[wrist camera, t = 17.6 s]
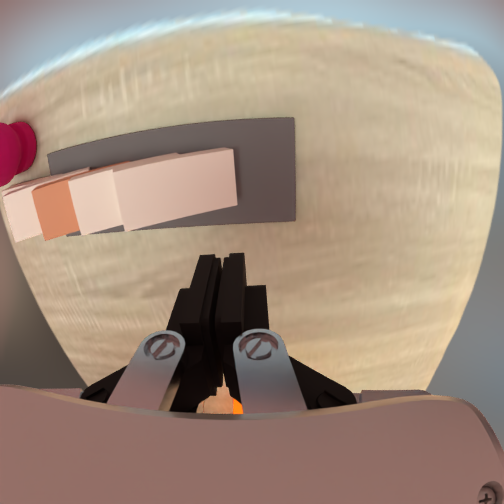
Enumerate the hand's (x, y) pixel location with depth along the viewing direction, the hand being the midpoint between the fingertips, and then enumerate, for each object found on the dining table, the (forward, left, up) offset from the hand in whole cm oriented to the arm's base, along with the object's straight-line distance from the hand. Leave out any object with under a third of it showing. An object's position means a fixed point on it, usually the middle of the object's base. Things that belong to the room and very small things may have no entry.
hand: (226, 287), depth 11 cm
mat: (0, +8, -18) cm, 19 cm away
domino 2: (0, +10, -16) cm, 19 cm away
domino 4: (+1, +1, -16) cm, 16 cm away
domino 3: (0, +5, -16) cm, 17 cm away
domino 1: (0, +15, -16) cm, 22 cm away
